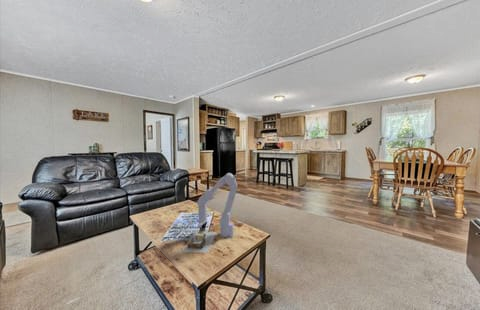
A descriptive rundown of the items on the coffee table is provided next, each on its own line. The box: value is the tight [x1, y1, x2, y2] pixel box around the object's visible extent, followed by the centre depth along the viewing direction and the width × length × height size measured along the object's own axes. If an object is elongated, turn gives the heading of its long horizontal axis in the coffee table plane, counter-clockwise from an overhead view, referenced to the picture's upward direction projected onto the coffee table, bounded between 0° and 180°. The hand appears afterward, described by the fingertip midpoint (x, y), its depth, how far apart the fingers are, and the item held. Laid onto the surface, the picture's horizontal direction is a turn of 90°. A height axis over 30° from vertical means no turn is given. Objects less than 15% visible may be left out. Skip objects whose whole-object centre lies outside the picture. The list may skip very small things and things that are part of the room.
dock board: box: [181, 231, 217, 253], centre depth 114 cm, size 16×24×1 cm, turn 176°
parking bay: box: [188, 238, 205, 249], centre depth 109 cm, size 9×7×2 cm
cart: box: [196, 228, 206, 241], centre depth 117 cm, size 6×5×6 cm
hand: (202, 232), depth 122 cm, fingers closed
